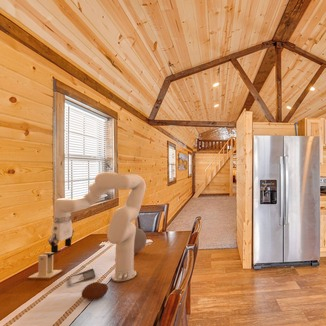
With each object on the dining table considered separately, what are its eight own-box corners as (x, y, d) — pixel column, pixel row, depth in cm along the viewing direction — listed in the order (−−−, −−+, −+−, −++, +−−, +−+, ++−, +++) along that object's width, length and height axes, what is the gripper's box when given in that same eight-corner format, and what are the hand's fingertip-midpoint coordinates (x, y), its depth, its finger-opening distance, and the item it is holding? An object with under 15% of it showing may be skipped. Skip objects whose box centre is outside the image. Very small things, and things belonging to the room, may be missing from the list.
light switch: (93, 271, 138) (69, 280, 130) (93, 268, 138) (68, 277, 130) (95, 278, 130) (69, 288, 122) (95, 274, 129) (69, 284, 122)
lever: (67, 249, 136) (65, 245, 136) (60, 252, 131) (58, 249, 131) (48, 258, 136) (46, 254, 136) (40, 261, 131) (39, 257, 131)
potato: (106, 300, 110) (106, 284, 110) (79, 306, 105) (79, 289, 105) (108, 291, 118) (108, 276, 118) (83, 296, 113) (83, 281, 113)
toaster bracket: (62, 272, 138) (62, 251, 138) (49, 279, 129) (49, 257, 129) (42, 272, 138) (42, 251, 138) (27, 279, 129) (28, 256, 129)
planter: (146, 250, 175) (146, 225, 176) (146, 253, 169) (146, 227, 169) (118, 253, 168) (119, 228, 168) (117, 257, 161) (117, 230, 162)
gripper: (56, 223, 126) (55, 254, 125) (79, 216, 143) (78, 244, 143) (42, 223, 125) (41, 254, 125) (67, 216, 143) (66, 243, 142)
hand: (61, 249), depth 134 cm, fingers open, 9 cm apart
